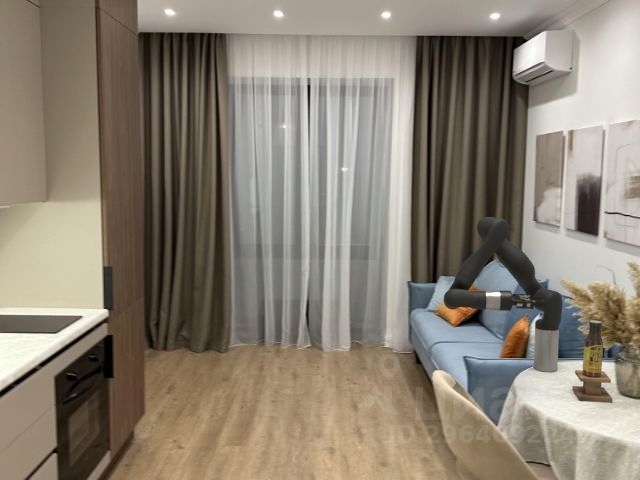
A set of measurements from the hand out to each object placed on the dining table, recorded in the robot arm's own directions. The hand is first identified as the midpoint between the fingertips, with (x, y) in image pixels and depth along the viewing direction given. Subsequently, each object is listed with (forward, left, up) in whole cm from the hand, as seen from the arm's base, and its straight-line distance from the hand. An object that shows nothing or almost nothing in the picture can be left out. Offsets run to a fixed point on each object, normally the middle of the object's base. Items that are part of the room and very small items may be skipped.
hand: (543, 301), depth 221 cm
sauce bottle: (+3, +17, -26) cm, 31 cm away
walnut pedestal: (+3, +17, -34) cm, 38 cm away
